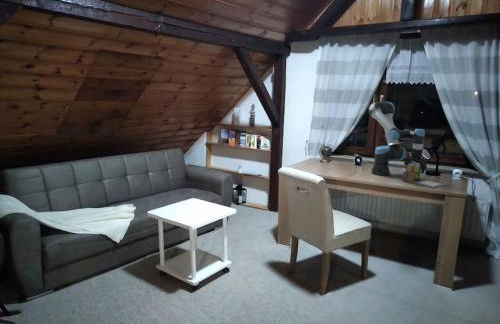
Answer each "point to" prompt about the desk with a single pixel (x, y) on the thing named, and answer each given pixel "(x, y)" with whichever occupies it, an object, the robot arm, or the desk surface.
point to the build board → (430, 184)
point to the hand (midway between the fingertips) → (413, 175)
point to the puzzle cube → (414, 169)
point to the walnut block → (408, 177)
